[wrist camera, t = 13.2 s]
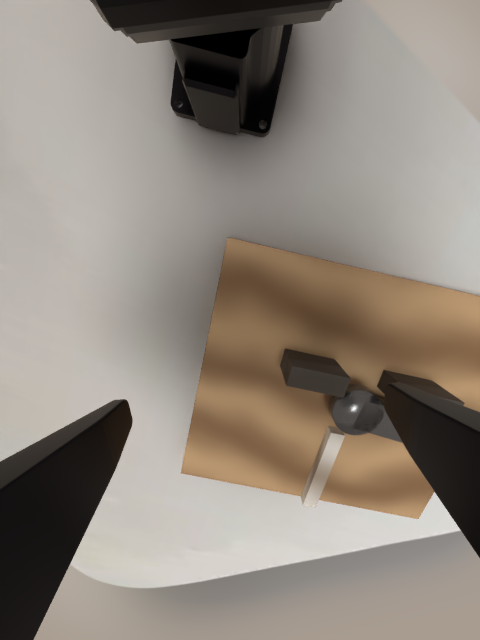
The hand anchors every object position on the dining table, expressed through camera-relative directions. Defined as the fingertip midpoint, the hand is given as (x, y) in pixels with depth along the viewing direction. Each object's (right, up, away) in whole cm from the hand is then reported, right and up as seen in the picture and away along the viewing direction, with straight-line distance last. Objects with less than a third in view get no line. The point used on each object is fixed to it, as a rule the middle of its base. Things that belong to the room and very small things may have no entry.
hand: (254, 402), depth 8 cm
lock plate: (+8, -3, +13) cm, 15 cm away
